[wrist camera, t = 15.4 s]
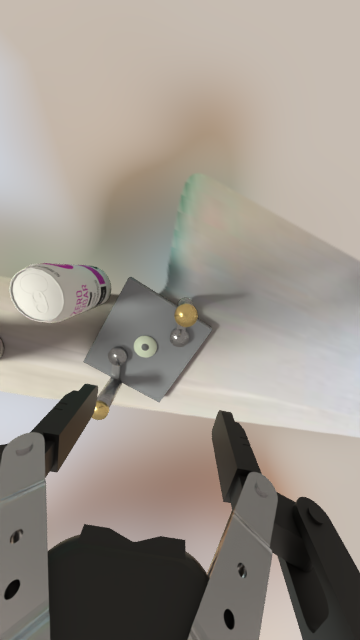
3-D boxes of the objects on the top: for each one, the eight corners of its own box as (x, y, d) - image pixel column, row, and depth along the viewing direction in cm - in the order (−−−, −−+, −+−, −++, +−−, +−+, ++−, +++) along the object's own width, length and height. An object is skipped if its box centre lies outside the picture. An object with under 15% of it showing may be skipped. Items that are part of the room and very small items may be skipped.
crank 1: (110, 344, 39) (89, 367, 30) (128, 348, 39) (112, 371, 30) (106, 386, 42) (86, 417, 33) (123, 389, 42) (107, 421, 33)
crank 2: (187, 346, 39) (188, 369, 30) (168, 343, 38) (164, 365, 30) (196, 297, 36) (201, 306, 27) (177, 294, 36) (175, 302, 27)
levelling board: (87, 357, 42) (82, 362, 40) (131, 277, 37) (128, 277, 34) (160, 396, 45) (158, 403, 42) (210, 326, 39) (212, 330, 37)
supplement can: (68, 268, 37) (-6, 267, 22) (107, 263, 36) (57, 259, 22) (79, 307, 39) (18, 329, 24) (116, 302, 38) (76, 322, 24)
